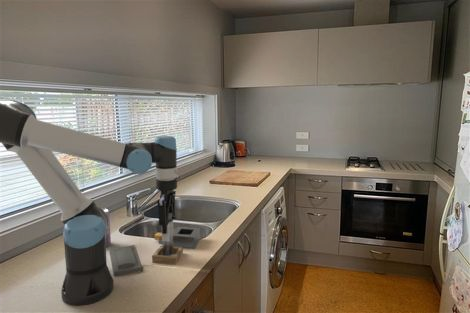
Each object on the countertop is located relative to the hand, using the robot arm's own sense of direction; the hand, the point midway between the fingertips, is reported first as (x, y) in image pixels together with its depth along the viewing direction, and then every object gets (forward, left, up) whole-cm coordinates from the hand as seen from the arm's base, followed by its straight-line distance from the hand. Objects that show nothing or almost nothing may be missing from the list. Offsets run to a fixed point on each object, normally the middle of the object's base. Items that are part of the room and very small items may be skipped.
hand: (167, 238), depth 124 cm
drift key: (+14, +7, -7) cm, 17 cm away
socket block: (+14, 0, -9) cm, 17 cm away
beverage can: (+8, +31, -9) cm, 33 cm away
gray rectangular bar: (0, 0, -6) cm, 6 cm away
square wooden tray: (0, 0, -9) cm, 9 cm away
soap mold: (-3, +16, -10) cm, 19 cm away
